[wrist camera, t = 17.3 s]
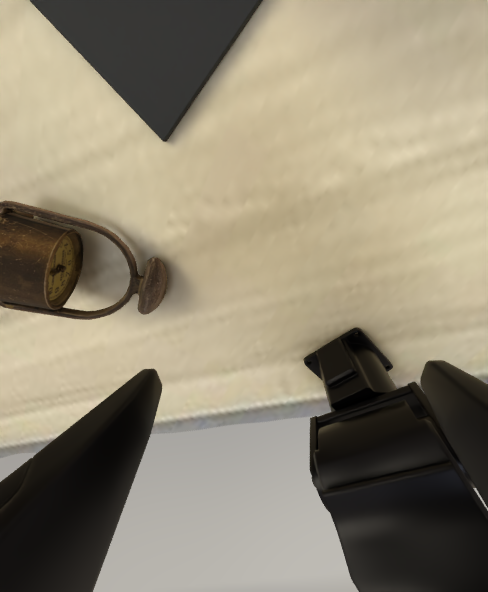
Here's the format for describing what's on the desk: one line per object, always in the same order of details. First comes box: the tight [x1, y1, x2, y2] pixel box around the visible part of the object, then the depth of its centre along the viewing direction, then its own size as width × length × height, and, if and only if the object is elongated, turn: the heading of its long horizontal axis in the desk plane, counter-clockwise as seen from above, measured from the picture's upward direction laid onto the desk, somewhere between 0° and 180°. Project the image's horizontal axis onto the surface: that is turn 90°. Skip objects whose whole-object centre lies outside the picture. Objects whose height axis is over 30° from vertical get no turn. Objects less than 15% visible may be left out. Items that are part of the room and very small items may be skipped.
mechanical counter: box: [0, 201, 167, 320], centre depth 18 cm, size 7×13×10 cm
